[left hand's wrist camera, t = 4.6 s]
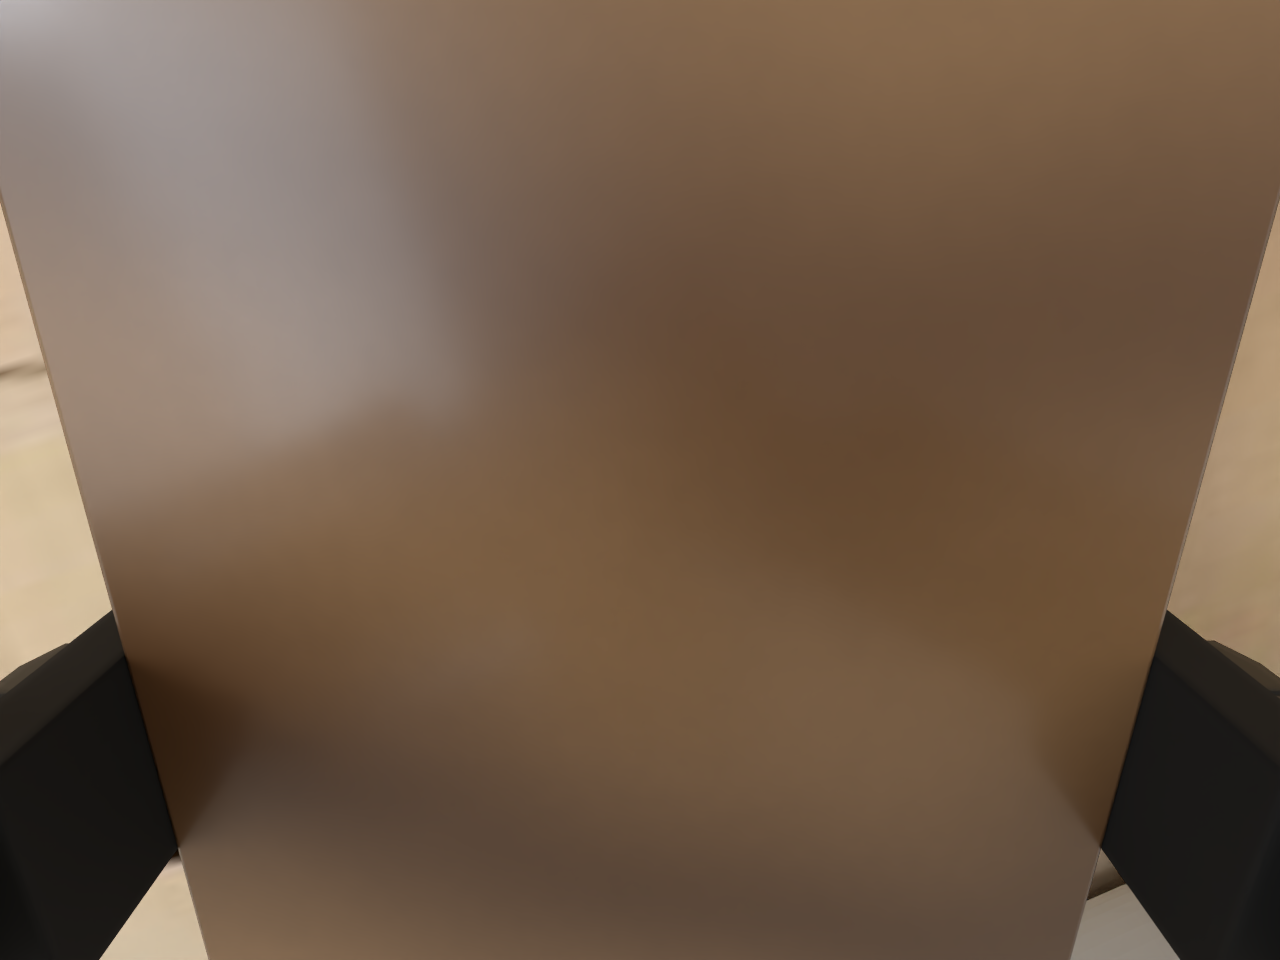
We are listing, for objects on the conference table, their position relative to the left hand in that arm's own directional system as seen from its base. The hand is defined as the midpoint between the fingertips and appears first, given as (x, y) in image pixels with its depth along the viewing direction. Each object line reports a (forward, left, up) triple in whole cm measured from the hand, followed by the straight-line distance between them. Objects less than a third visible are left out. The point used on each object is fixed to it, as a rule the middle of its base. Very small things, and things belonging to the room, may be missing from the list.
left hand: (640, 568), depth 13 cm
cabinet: (+5, +3, -7) cm, 9 cm away
